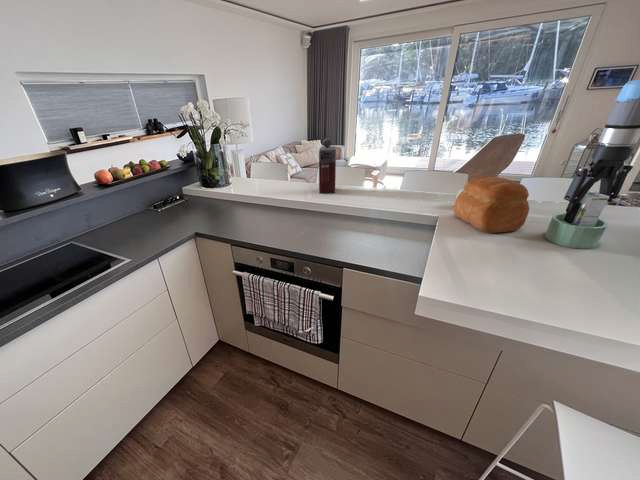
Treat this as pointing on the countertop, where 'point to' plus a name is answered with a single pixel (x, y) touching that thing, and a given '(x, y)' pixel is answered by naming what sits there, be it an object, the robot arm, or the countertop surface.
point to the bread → (493, 204)
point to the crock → (574, 233)
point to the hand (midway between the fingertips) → (578, 221)
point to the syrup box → (590, 209)
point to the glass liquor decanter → (327, 167)
